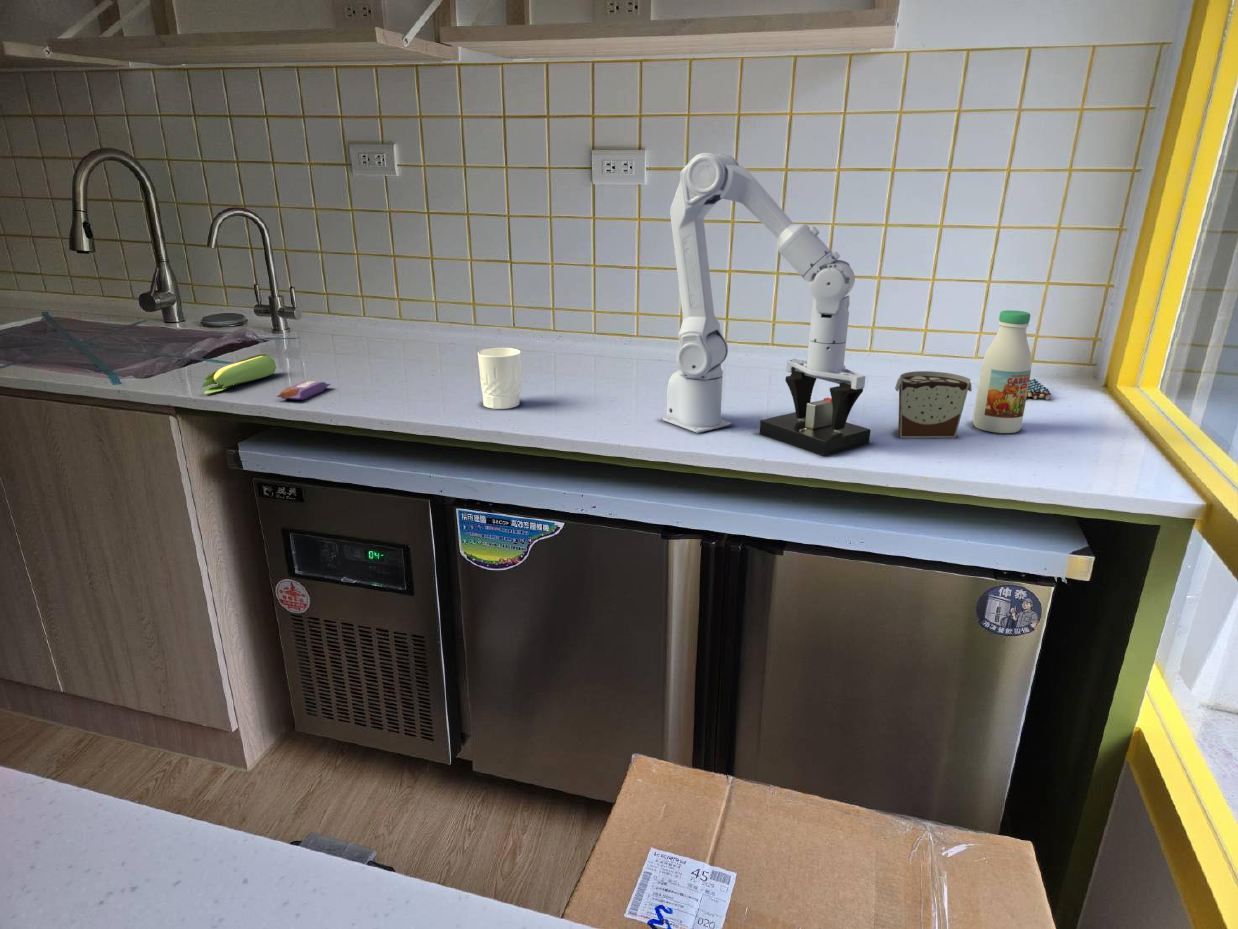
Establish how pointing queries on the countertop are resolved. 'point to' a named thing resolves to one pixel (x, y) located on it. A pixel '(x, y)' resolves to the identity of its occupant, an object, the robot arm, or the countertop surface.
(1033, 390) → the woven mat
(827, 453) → the panel
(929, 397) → the food container
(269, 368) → the edible corn
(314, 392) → the snack package
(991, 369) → the milk bottle
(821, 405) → the grey upright block
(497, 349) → the white cup
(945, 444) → the countertop surface
